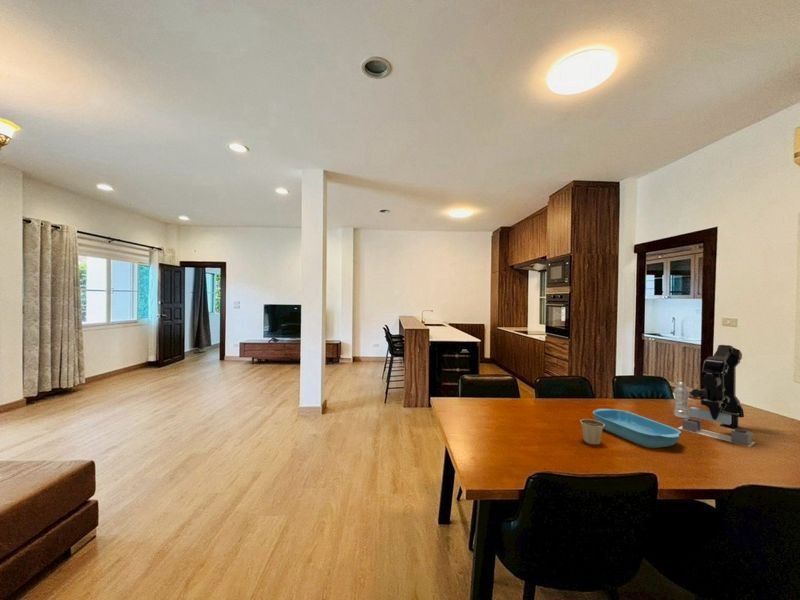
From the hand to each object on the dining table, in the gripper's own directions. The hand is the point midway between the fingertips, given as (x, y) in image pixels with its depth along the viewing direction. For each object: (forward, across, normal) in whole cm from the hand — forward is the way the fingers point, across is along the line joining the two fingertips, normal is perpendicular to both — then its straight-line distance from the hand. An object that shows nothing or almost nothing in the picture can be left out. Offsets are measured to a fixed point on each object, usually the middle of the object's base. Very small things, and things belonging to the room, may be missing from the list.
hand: (715, 418), depth 153 cm
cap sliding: (+8, 0, +9) cm, 12 cm away
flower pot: (+9, +57, -28) cm, 64 cm away
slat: (+1, 0, -2) cm, 2 cm away
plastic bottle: (+9, -20, -18) cm, 28 cm away
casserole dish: (+9, +31, -22) cm, 39 cm away
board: (+9, 0, 0) cm, 9 cm away
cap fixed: (+8, 0, -9) cm, 12 cm away
